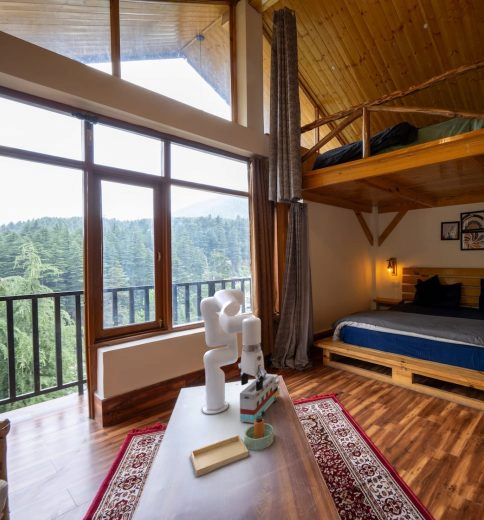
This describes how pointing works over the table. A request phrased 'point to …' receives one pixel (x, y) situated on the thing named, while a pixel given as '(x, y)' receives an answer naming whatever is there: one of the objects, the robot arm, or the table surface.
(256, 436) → the bottle
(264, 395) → the multicoloured piece
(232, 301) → the robot arm
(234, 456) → the tray
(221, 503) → the table surface
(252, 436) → the bowl
